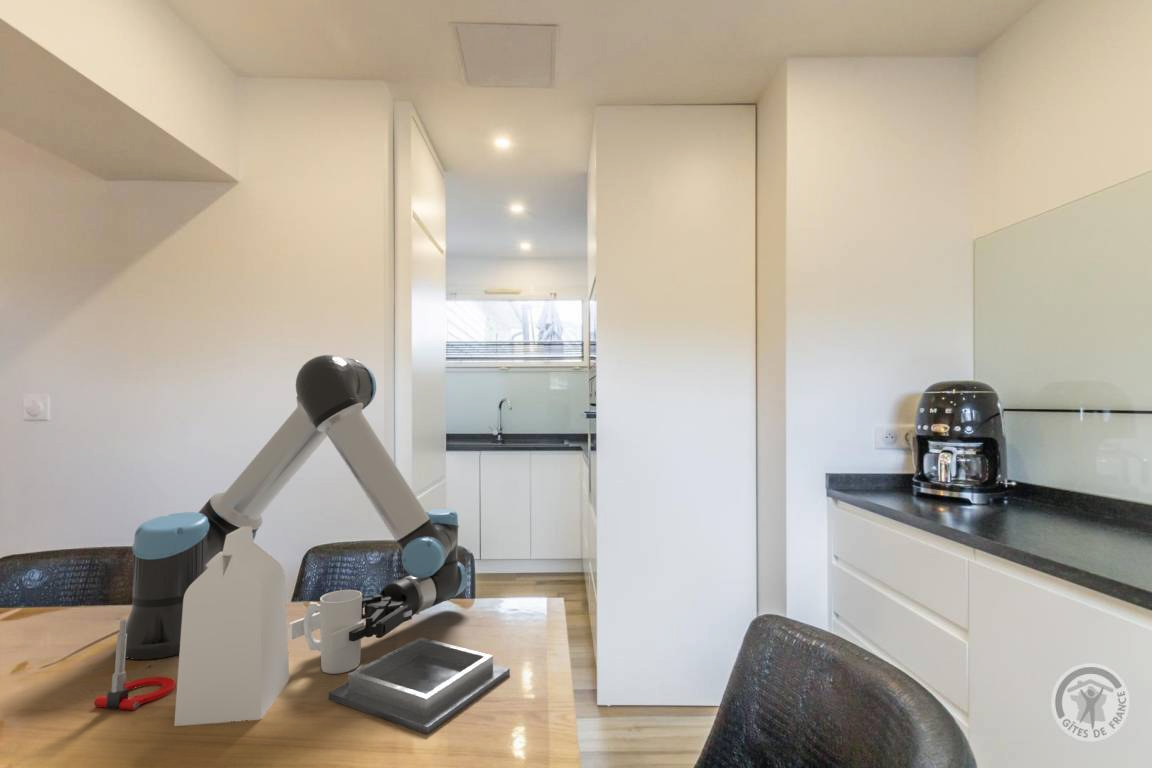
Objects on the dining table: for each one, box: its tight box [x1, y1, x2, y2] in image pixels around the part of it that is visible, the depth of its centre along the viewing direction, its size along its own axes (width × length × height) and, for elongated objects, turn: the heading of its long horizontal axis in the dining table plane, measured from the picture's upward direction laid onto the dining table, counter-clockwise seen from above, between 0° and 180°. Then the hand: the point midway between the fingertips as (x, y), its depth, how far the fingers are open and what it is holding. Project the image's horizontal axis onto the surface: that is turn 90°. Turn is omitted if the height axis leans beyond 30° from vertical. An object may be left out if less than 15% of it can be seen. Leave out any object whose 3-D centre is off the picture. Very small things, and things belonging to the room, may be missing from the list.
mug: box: [303, 589, 363, 675], centre depth 101 cm, size 10×7×12 cm, turn 87°
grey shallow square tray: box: [327, 636, 511, 735], centre depth 94 cm, size 20×20×4 cm
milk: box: [173, 526, 290, 727], centre depth 89 cm, size 12×12×26 cm
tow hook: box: [93, 618, 176, 711], centre depth 91 cm, size 8×13×9 cm
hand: (310, 637), depth 97 cm, fingers closed on mug, 9 cm apart
